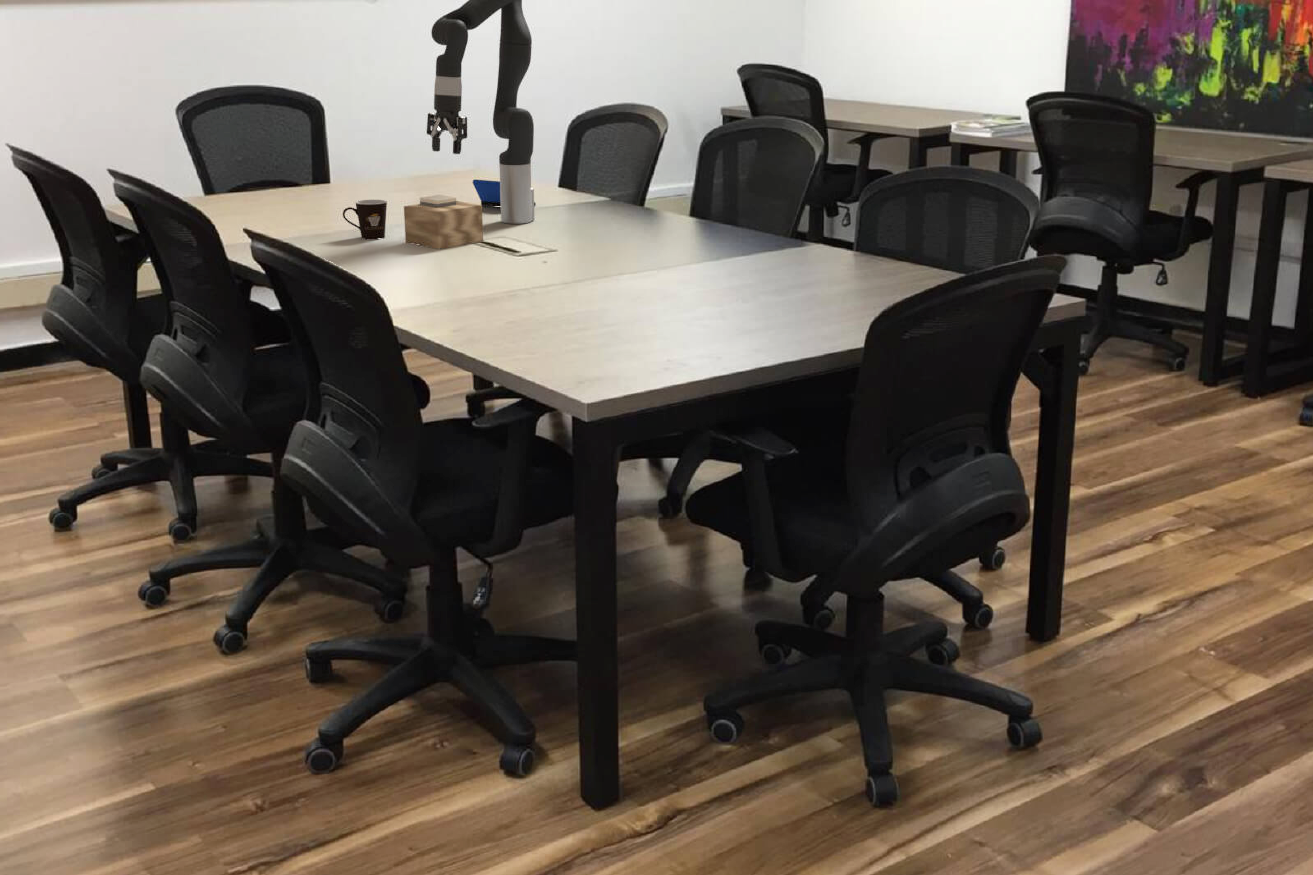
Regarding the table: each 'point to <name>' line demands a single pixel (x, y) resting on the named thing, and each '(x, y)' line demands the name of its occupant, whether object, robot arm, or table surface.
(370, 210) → the coffee mug
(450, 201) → the coaster
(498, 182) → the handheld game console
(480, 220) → the oak block
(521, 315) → the table surface
